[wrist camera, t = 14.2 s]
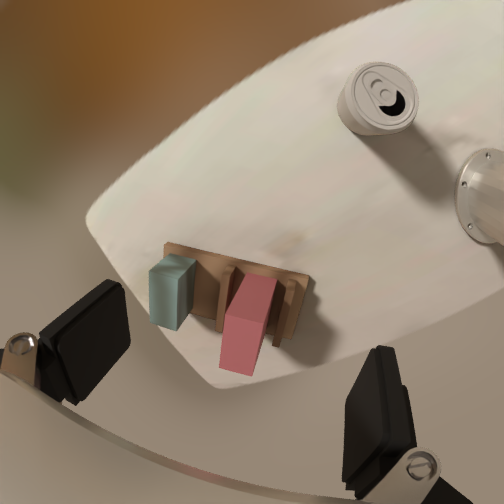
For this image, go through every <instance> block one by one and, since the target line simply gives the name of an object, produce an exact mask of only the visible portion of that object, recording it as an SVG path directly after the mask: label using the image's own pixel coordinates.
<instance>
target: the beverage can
mask: <svg viewBox="0 0 504 504" xmlns="http://www.w3.org/2000/svg"><path fill="white" fill-rule="evenodd" d="M418 105H419V97H418V92H417V89H416V86H415V84H414V83H413V81H412V79H411V78H410V77H409V76H408V75H407V74H406V73H405V72H404V71H403V70H402V69H400V68H398V67H397V66H394V65H392V64H389V63H384V62H369V63H365V64H363V65H360V66H359V67H357V68H356V69H355V70H354V71H353V72H352V73H351V74H350V76H349V77H348V79H347V81H346V83H345V85H344V87H343V89H342V91H341V93H340V96H339V98H338V103H337V109H338V114H339V116H340V119H341V120H342V122H343V123H344V125H345V126H346V127H347V128H348V129H350V130H351V131H353V132H355V133H357V134H360V135H367V136H368V135H387V134H395V133H398V132H401V131H403V130H404V129H406V128H407V127H408V126H409V125H410V124H411V123H412V122H413V120H414V118H415V116H416V114H417V110H418Z"/></svg>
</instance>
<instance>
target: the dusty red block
mask: <svg viewBox="0 0 504 504" xmlns="http://www.w3.org/2000/svg"><path fill="white" fill-rule="evenodd" d="M276 283H277V279H274V278H270V277H265V276H261V275H257V274H252V273H248V272H247V274H246V275H245V277H244V279H243V281H242V283H241V285H240V287H239V289H238V291H237V293H236V295H235V296H234V298H233V300H232V302H231V304H230V306H229V308H228V310H227V312H226V314H225V320H224V329H223V337H222V346H221V354H220V363H219V368H222V369H226V370H229V371H233V372H237V373H240V374H244V375H248V376H252V375H253V372H254V368H255V365H256V362H257V359H258V355H259V352H260V349H261V345H262V342H263V339H264V335H265V332H266V328H267V324H268V320H269V315H270V311H271V306H272V301H273V297H274V292H275V287H276Z"/></svg>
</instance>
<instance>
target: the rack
mask: <svg viewBox="0 0 504 504" xmlns="http://www.w3.org/2000/svg"><path fill="white" fill-rule="evenodd" d="M247 272H248V273H252V274H257V275H261V276H265V277H270V278H274V279H277V283H276V287H275V292H274V297H273V301H272V306H271V311H270V315H269V320H268V324H267V328H266V332H265V333H266V334H270V335H274V339H273V343H272V346H275V347H279V346H280V342H281V339H282V337H283V338H287V339H292V335H293V332H294V329H295V325H296V322H297V319H298V315H299V312H300V309H301V305H302V302H303V298H304V295H305V291H306V287H307V284H308V280H309V275H305V274H301V273H296V272H292V271H288V270H283V269H279V268H275V267H271V266H266V265H262V264H258V263H254V262H249V261H245V260H241V259H237V258H232V257H228V256H224V255H220V254H216V253H212V252H207V251H203V250H199V249H195V248H191V247H187V246H183V245H178V244H174V243H170V242H167V243H166V244H164V258H163V259H162V260H161V261H160V262H159V263H158V264H157V265H155V266H154V267H153V268H152V269H151V270H150V271H149V308H150V322H151V323H153V324H156V325H159V326H162V327H165V328H168V329H171V330H174V331H177V330H178V329H179V327H180V326H181V324H182V323H183V321H184V320H185V319H186V317H187V316H188V314H189V313H192V314H196V315H199V316H203V317H206V318H210V319H213V320H216V328H215V331H217V332H221V333H222V332H223V329H224V320H225V314H226V312H227V310H228V308H229V306H230V304H231V302H232V300H233V298H234V296H235V295H236V293H237V291H238V289H239V287H240V285H241V283H242V281H243V279H244V277H245V275H246V274H247Z"/></svg>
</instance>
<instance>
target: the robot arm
mask: <svg viewBox="0 0 504 504" xmlns="http://www.w3.org/2000/svg"><path fill="white" fill-rule="evenodd" d="M462 182H463V184H462ZM455 207H456V213H457V216H458V219H459V221H460V223H461V225H462V227H463V228H464V230H465V231H466V232H467V233H468V234H469V235H470V236H471V237H473V238H474V239H476V240H477V241H479V242H482V243H488V244H492V243H497V242H499V243H500V244H501V245H503V246H504V152H503V151H500V150H497V149H483V150H480V151H478V152H476V153H474V154H473V155H472V156H471V157H470V158H469V159H468V160H467V161H466V162H465V164H464V165H463V167H462V168H461V171H460V173H459V175H458V178H457V182H456V187H455ZM468 224H469V225H468ZM39 335H40V338H39V339H38V340H37V338H36V336H34V335H33V334H31V333H25V332H23V333H18V334H16V335H14V336H12V337H11V338H10V339H9V340H8V341H7V343H6V345H5V348H4V349H0V504H473V503H472V502H471V501H470V500H469V499H467V498H466V497H465V496H464V495H462V494H461V493H460V492H458V491H457V490H456V489H455V488H453V487H452V486H451V485H450V484H448V483H447V482H446V481H445V480H444V479H442V478H441V477H440V473H441V462H440V460H439V458H438V456H437V455H436V454H435V453H434V452H433V451H431V450H429V449H427V448H423V447H417V442H416V436H415V430H414V423H413V417H412V412H411V406H410V400H409V395H408V390H407V388H406V386H405V385H402V383H401V378H400V373H399V368H398V364H397V359H396V355H395V351H394V348H393V347H387V346H381V345H378V346H377V347H376V349H374V348H372V349H371V350H370V352H369V355H368V357H367V359H366V361H365V363H364V365H363V367H362V369H361V371H360V373H359V375H358V377H357V379H356V381H355V383H354V385H353V387H352V389H351V391H350V393H349V395H348V396H347V399H346V403H345V429H344V452H343V468H342V482H345V483H346V490H353V491H355V497H356V499H355V500H351V499H342V498H333V497H326V496H317V495H310V494H303V493H296V492H290V491H285V490H279V489H273V488H269V487H264V486H259V485H255V484H250V483H246V482H242V481H238V480H234V479H230V478H227V477H223V476H220V475H216V474H213V473H210V472H207V471H203V470H200V469H197V468H194V467H191V466H188V465H185V464H183V463H180V462H177V461H174V460H172V459H169V458H167V457H164V456H162V455H159V454H157V453H154V452H152V451H149V450H147V449H145V448H143V447H140V446H138V445H136V444H133V443H132V442H129V441H127V440H125V439H123V438H121V437H119V436H117V435H115V434H113V433H111V432H109V431H107V430H105V429H103V428H101V427H99V426H97V425H96V424H94V423H92V422H90V421H89V420H87V419H85V418H83V417H81V416H80V415H78V414H76V413H75V412H73V411H72V410H70V409H68V408H67V407H65V406H63V405H62V400H63V399H64V398H65V399H66V400H67V401H69V402H71V403H72V404H74V405H75V406H76V405H77V404H78V403H79V402H80V401H83V400H85V399H86V397H87V396H88V395H89V394H90V392H91V391H92V390H93V389H94V388H95V387H96V386H97V384H98V383H99V382H100V381H101V380H102V378H103V377H104V376H105V375H106V374H107V372H108V371H109V370H110V369H111V368H112V367H113V365H114V364H115V363H116V362H117V361H118V360H119V358H120V357H121V356H122V355H123V354H124V353H125V351H126V350H127V349H128V348H129V346H130V342H131V339H130V332H129V325H128V317H127V309H126V301H125V291H124V289H123V288H122V285H121V284H120V283H119V282H115V281H112V280H109V279H106V280H105V281H103V282H102V283H101V284H99V285H98V286H97V287H96V288H94V289H93V290H91V291H90V292H89V293H88V294H86V295H85V296H84V297H83V298H81V299H80V300H79V301H77V302H76V303H75V304H74V305H72V306H71V307H70V308H69V309H67V310H66V311H65V312H64V313H62V314H61V315H60V316H59V317H57V318H56V319H55V320H54V321H52V322H51V323H50V324H49V325H48V326H46V327H45V328H44V329H43V330H42V331H40V332H39Z"/></svg>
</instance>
